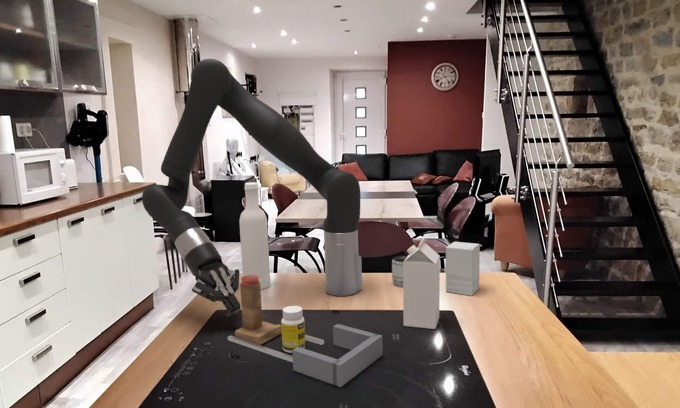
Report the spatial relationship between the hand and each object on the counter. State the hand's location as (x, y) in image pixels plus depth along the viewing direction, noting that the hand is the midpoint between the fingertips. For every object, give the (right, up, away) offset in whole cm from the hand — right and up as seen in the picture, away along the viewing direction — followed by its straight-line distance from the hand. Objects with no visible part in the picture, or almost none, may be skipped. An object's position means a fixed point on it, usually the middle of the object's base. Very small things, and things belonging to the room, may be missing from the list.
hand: (236, 311), depth 106 cm
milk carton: (+42, -3, +2) cm, 42 cm away
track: (+10, -5, -6) cm, 12 cm away
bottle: (-1, 0, +31) cm, 31 cm away
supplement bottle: (+14, -6, -9) cm, 17 cm away
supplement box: (+57, 0, +23) cm, 61 cm away
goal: (+23, -6, -15) cm, 28 cm away
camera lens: (+41, +1, +29) cm, 51 cm away
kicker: (+5, -5, -3) cm, 7 cm away
